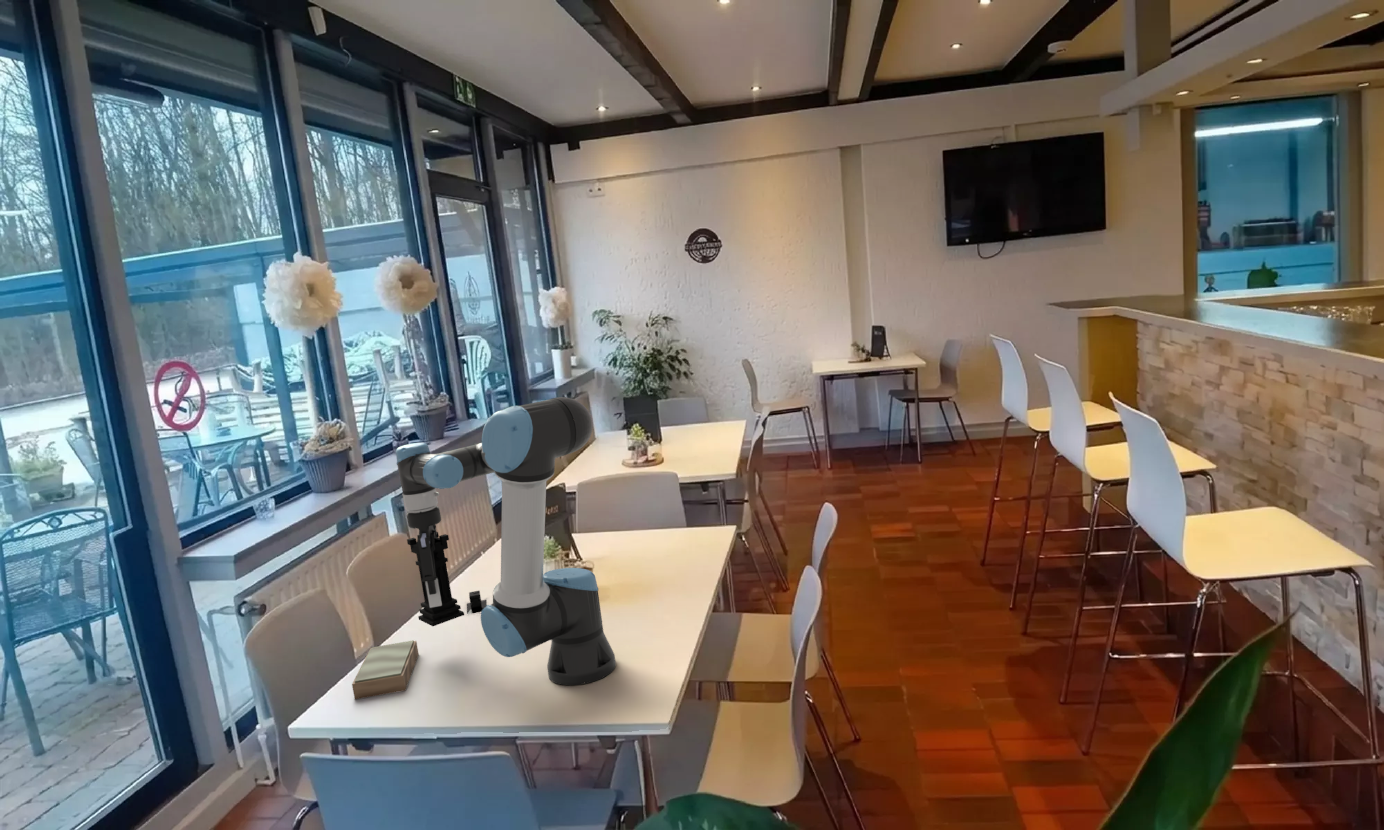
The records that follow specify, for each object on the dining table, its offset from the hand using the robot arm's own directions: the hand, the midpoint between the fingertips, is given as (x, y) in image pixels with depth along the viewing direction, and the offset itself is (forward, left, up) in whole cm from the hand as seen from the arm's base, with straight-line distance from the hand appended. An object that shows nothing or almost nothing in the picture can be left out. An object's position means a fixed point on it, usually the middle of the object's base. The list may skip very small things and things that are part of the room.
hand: (438, 599), depth 206 cm
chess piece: (0, 0, -5) cm, 5 cm away
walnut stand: (-5, +13, -15) cm, 20 cm away
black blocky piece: (+33, -4, -16) cm, 37 cm away
